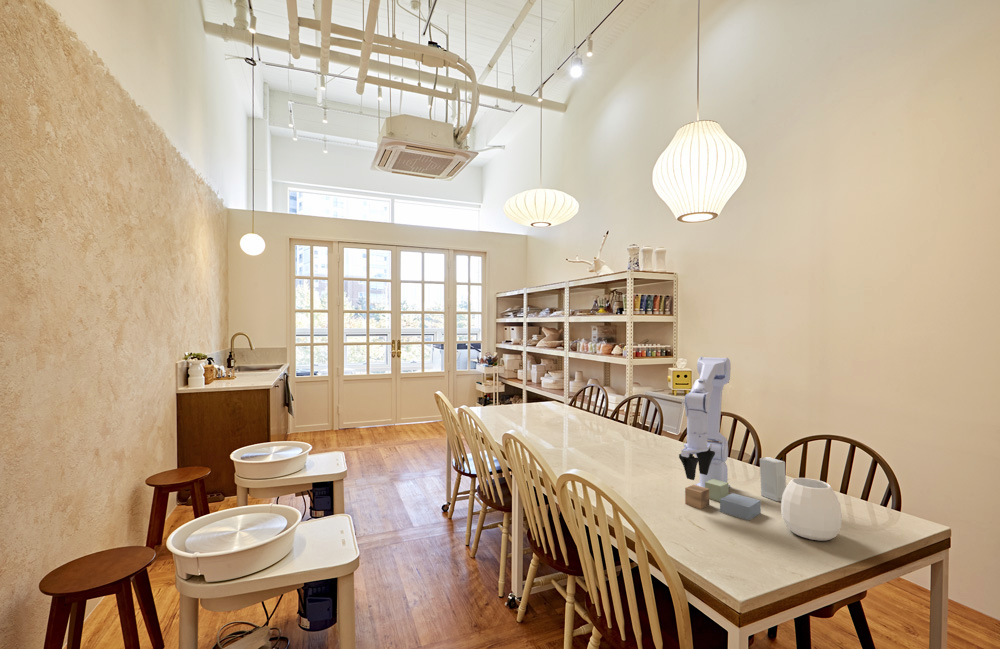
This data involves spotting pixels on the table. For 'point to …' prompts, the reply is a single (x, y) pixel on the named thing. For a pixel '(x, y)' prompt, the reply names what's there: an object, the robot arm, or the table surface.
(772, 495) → the skincare box
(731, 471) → the table surface
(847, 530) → the table surface
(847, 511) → the table surface
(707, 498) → the walnut cube
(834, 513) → the white round vase
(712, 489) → the olive cube
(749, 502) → the slate block
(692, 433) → the robot arm
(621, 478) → the table surface
